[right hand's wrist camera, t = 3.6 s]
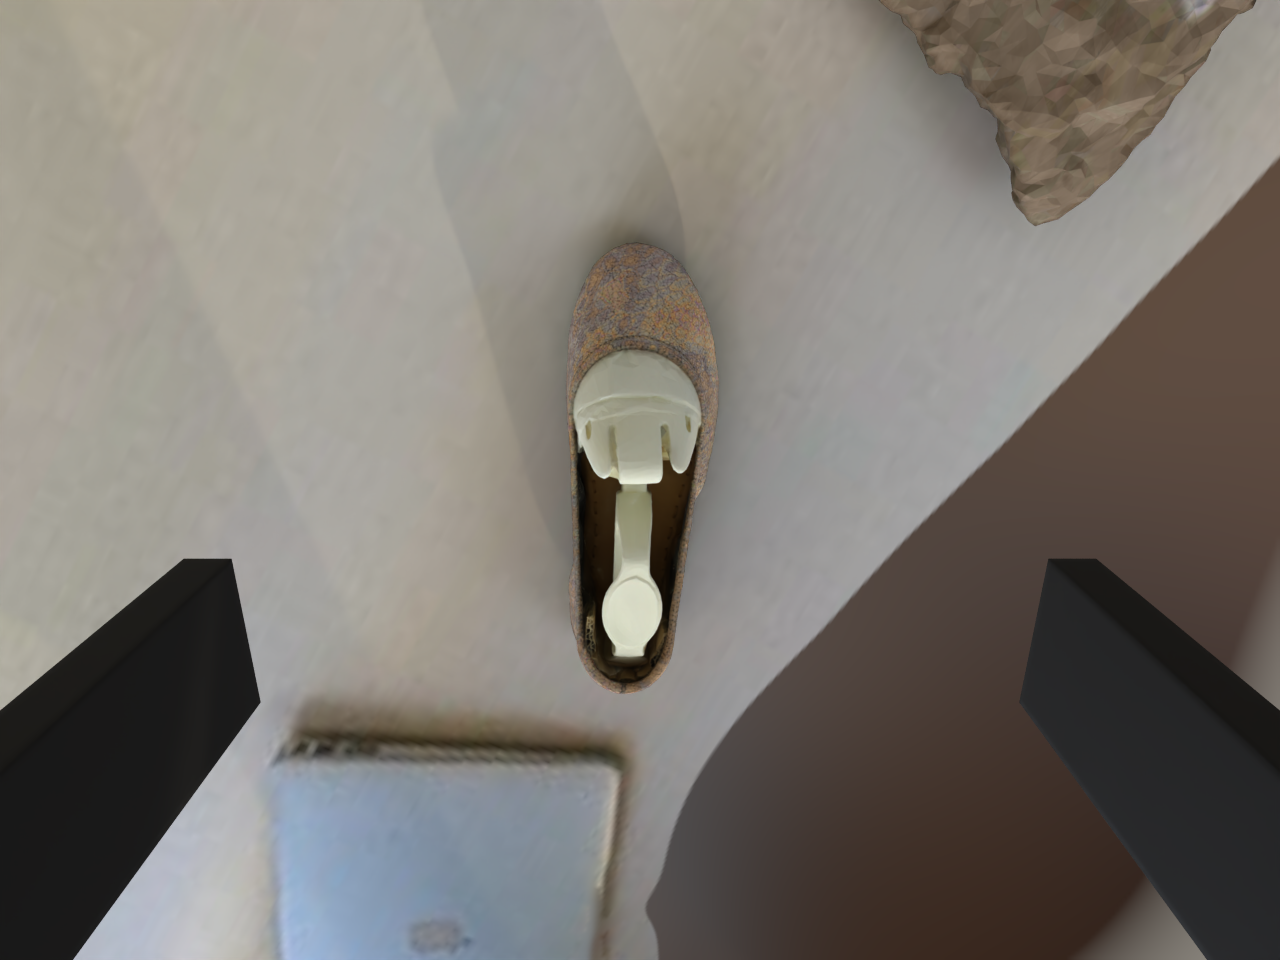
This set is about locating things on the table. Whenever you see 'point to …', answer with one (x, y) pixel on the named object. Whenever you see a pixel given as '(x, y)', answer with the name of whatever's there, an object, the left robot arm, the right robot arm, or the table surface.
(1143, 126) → the stone
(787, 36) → the table surface
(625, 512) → the ballet flat
